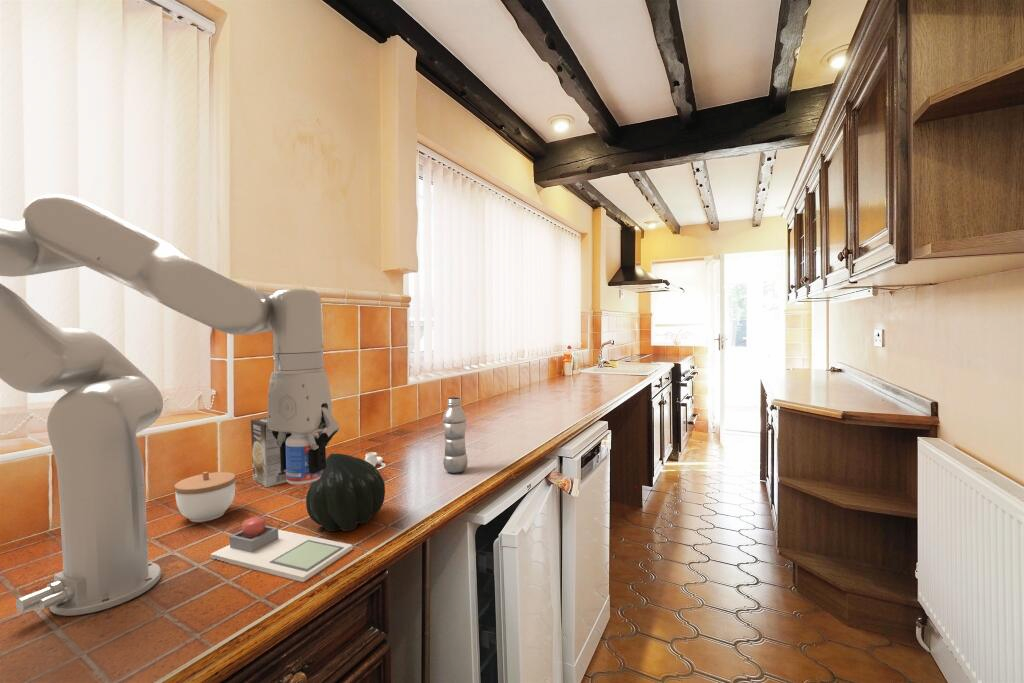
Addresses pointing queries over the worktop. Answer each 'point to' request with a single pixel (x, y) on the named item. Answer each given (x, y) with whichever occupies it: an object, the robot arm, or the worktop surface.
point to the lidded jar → (205, 495)
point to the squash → (345, 493)
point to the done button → (253, 526)
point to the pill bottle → (299, 459)
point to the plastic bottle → (454, 436)
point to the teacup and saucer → (374, 459)
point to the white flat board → (282, 553)
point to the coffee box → (265, 455)
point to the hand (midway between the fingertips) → (303, 468)
